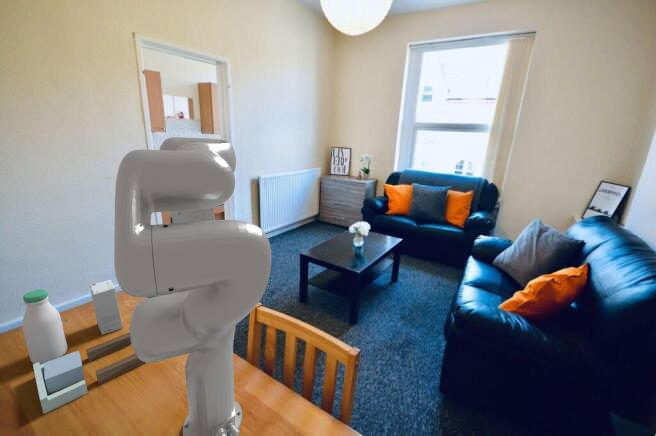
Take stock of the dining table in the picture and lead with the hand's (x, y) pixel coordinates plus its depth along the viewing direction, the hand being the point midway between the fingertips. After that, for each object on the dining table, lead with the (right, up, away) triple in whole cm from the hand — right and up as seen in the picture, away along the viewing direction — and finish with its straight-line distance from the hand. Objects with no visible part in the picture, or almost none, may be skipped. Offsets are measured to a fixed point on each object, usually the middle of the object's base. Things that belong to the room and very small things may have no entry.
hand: (195, 256), depth 78 cm
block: (-33, -32, -1) cm, 46 cm away
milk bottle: (-44, -29, +6) cm, 53 cm away
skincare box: (-37, -26, +19) cm, 49 cm away
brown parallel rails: (-25, -30, +5) cm, 40 cm away
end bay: (-32, -32, -3) cm, 45 cm away
